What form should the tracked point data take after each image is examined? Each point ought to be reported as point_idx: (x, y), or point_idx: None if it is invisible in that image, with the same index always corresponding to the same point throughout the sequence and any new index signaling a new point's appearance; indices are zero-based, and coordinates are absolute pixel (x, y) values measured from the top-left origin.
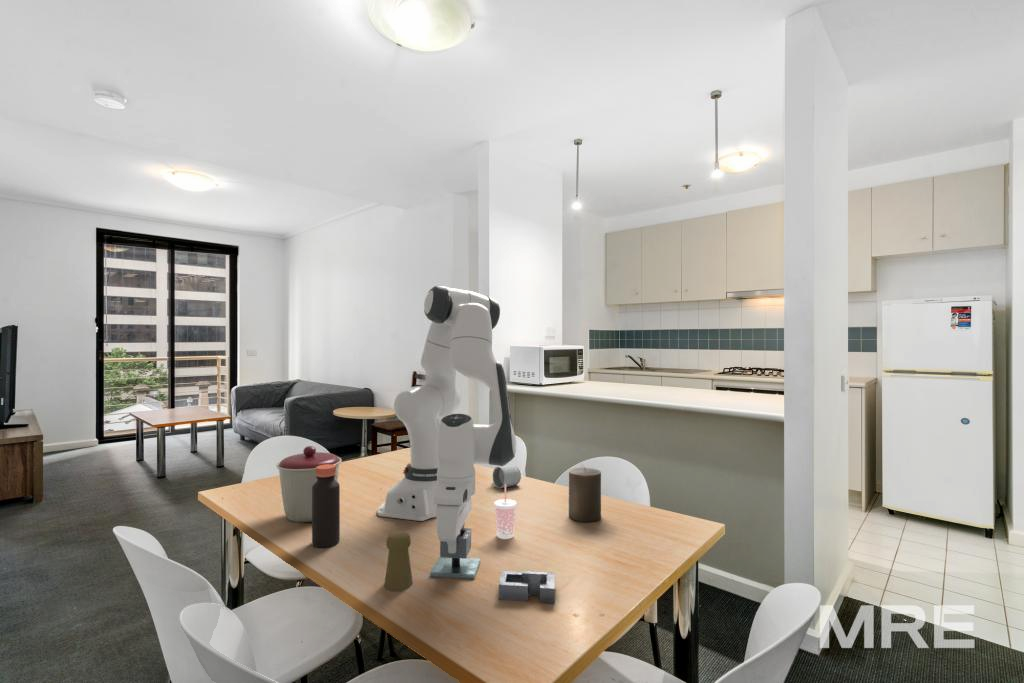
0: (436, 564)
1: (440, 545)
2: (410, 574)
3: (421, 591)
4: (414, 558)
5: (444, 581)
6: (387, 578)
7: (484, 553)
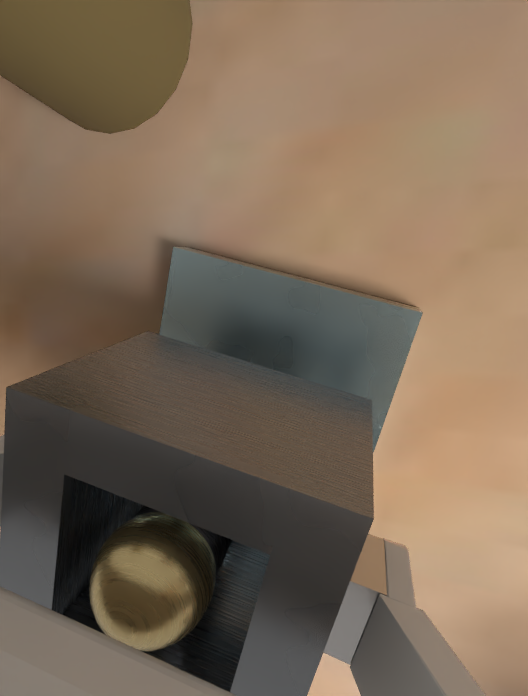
0: (283, 289)
1: (79, 359)
2: (42, 98)
3: (27, 201)
4: (522, 87)
5: (127, 331)
6: None
7: (472, 613)
